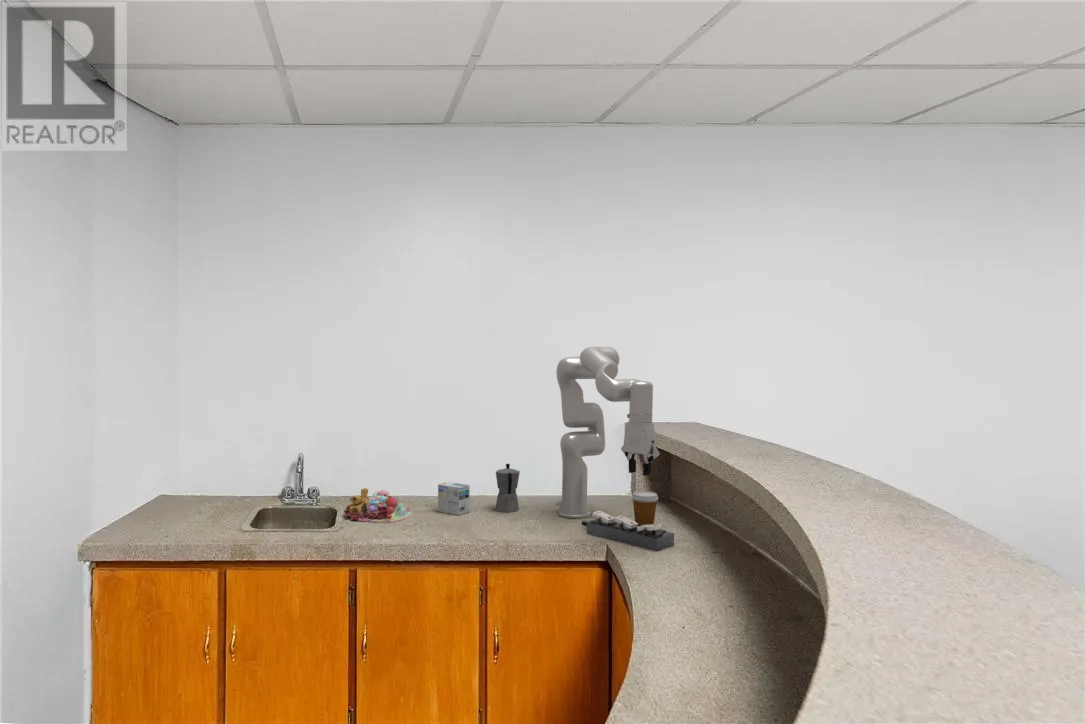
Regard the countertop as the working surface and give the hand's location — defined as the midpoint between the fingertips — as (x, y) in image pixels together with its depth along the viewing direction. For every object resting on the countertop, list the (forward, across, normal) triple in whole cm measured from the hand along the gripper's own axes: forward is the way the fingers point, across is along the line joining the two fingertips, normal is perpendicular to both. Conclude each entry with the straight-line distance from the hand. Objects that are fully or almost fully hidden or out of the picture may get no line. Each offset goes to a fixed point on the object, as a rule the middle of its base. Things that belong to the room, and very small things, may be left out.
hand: (639, 473), depth 249 cm
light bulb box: (+24, -74, -17) cm, 80 cm away
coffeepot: (+24, -62, 0) cm, 66 cm away
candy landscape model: (+24, -90, -40) cm, 101 cm away
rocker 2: (+17, -5, 0) cm, 18 cm away
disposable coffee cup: (+24, -11, +19) cm, 32 cm away
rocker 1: (+17, -14, 0) cm, 23 cm away
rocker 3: (+17, +4, 0) cm, 18 cm away
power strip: (+23, -8, +2) cm, 25 cm away
